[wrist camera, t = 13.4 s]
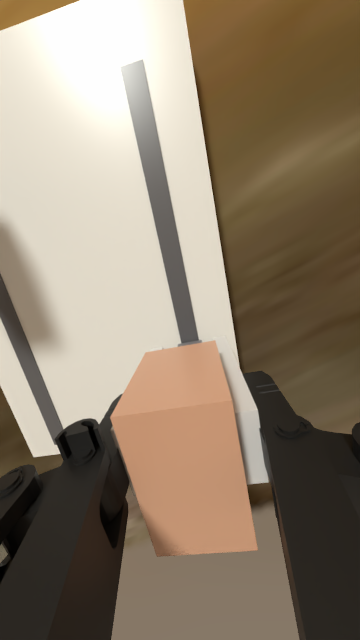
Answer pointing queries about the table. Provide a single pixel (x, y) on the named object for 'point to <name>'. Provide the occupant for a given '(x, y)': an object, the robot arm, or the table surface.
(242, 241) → the table surface
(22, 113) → the fader panel
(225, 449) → the fader
